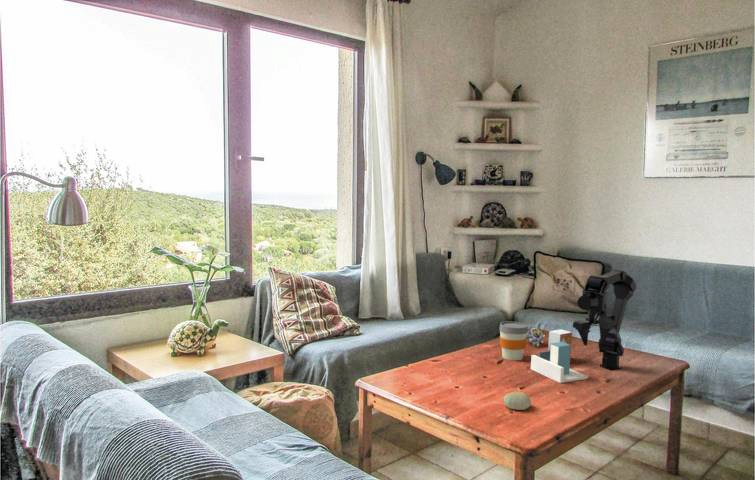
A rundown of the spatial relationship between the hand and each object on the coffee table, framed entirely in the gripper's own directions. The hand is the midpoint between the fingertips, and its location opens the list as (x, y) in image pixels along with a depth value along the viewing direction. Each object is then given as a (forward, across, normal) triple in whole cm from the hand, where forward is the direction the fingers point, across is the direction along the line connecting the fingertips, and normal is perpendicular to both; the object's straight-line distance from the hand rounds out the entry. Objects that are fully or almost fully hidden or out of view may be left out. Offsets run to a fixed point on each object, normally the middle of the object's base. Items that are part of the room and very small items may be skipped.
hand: (594, 344), depth 233 cm
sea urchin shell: (+13, -50, -16) cm, 54 cm away
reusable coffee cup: (+13, -16, +32) cm, 38 cm away
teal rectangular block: (+12, -13, +5) cm, 18 cm away
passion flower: (+13, +6, +46) cm, 48 cm away
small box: (+13, +1, +21) cm, 25 cm away
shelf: (+13, -12, +7) cm, 19 cm away
